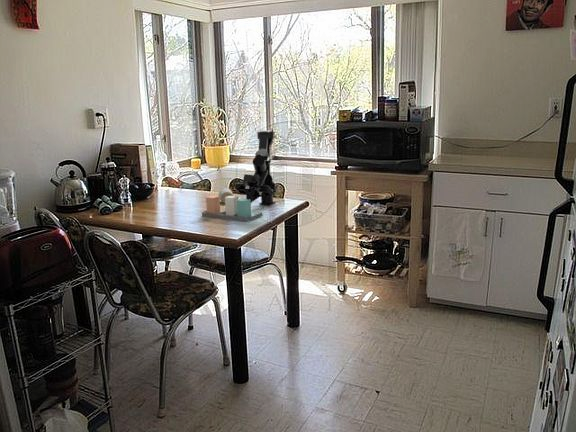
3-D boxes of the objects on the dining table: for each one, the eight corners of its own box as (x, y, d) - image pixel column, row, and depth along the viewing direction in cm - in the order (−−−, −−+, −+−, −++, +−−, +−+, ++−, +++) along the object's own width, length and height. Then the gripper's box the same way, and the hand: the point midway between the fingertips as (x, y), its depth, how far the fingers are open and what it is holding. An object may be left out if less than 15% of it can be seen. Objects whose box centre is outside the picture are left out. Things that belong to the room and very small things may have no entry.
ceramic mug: (220, 205, 264) (220, 191, 262) (218, 202, 272) (218, 188, 270) (240, 204, 267) (240, 190, 265) (238, 200, 274) (237, 187, 272)
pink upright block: (212, 213, 244) (211, 195, 242) (220, 214, 242) (219, 196, 239) (207, 215, 241) (205, 197, 239) (215, 216, 238) (213, 198, 236)
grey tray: (217, 210, 253) (217, 205, 252) (267, 217, 238) (266, 211, 237) (199, 217, 242) (198, 212, 241) (249, 224, 226) (249, 218, 226)
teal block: (242, 217, 236) (241, 198, 233) (251, 218, 233) (250, 199, 231) (237, 219, 232) (236, 200, 230) (246, 220, 230) (245, 201, 227)
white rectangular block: (231, 213, 242) (230, 195, 240) (239, 214, 240) (238, 196, 237) (226, 215, 239) (224, 197, 237) (234, 216, 237) (233, 198, 234)
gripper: (235, 166, 238) (222, 193, 231) (268, 168, 228) (255, 196, 222) (246, 179, 246) (234, 206, 240) (278, 182, 237) (266, 210, 230)
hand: (247, 204), depth 233 cm, fingers closed, pressing on teal block
